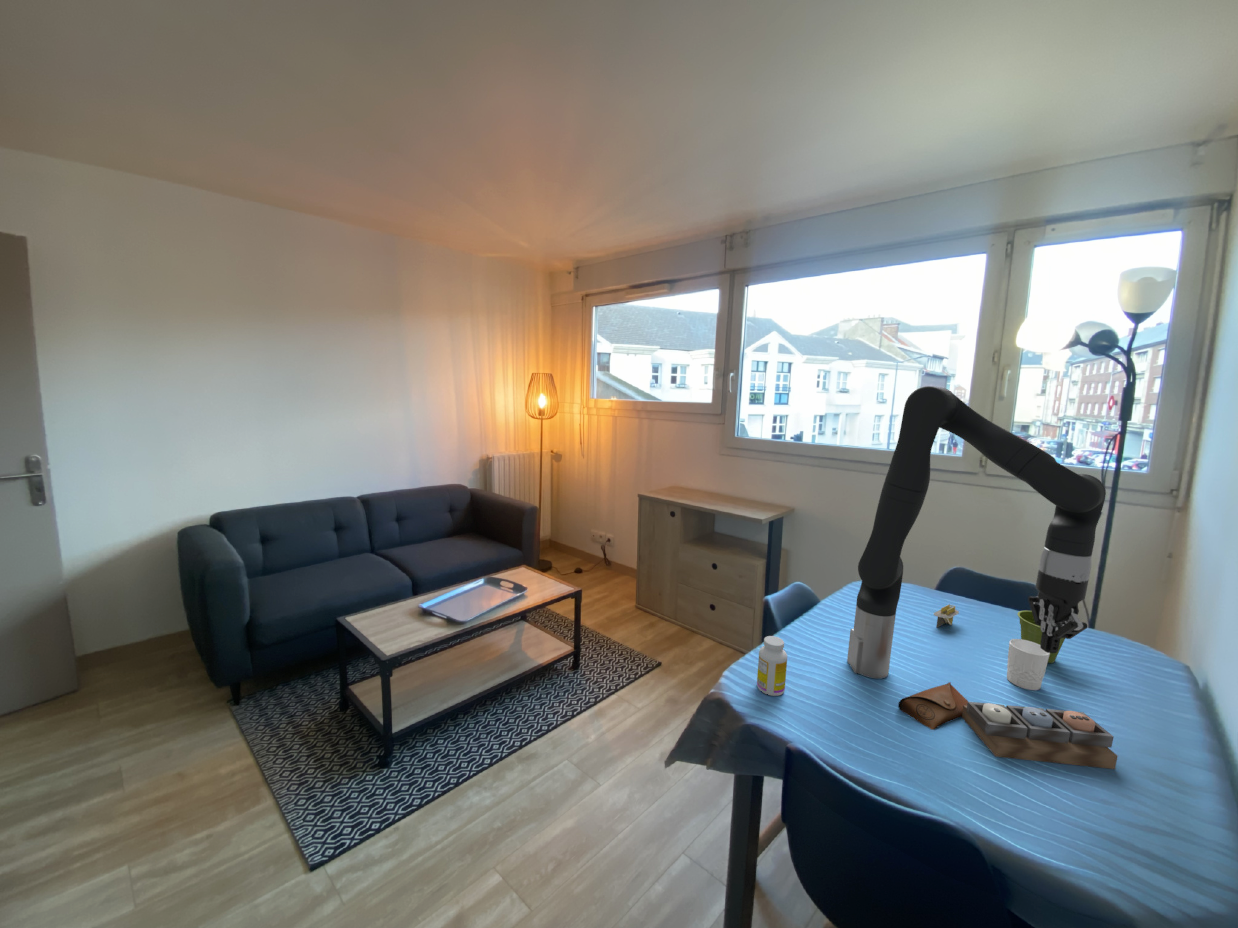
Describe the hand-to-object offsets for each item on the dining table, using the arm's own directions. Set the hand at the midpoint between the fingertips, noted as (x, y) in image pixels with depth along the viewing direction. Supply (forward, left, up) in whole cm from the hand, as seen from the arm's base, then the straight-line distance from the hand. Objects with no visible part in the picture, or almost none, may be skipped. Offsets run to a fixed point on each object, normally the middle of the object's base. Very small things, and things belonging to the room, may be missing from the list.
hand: (1048, 650), depth 100 cm
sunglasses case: (-15, +8, -22) cm, 27 cm away
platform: (+10, +52, -22) cm, 58 cm away
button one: (-8, 0, -17) cm, 19 cm away
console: (0, 0, -21) cm, 21 cm away
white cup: (+13, +23, -21) cm, 34 cm away
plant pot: (+26, +37, -21) cm, 50 cm away
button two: (0, 0, -18) cm, 18 cm away
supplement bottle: (-53, +10, -21) cm, 58 cm away
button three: (+8, 0, -18) cm, 19 cm away
